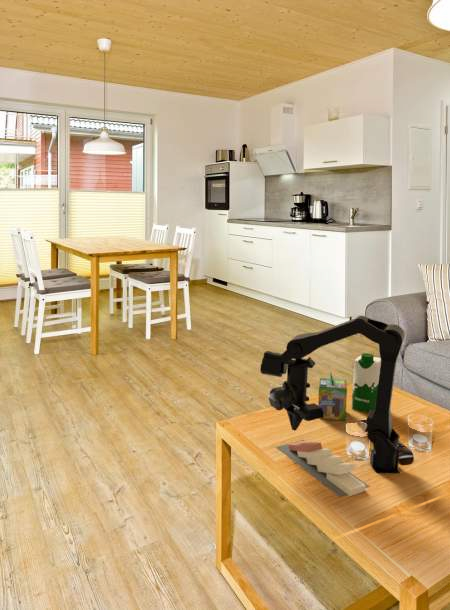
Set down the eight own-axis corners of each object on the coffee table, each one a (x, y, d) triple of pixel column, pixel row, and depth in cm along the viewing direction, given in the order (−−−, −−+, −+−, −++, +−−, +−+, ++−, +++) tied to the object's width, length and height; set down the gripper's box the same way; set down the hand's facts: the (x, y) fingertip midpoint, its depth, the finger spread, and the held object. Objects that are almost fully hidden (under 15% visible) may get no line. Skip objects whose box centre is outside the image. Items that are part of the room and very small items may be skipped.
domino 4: (316, 465, 135) (338, 468, 127) (331, 460, 138) (353, 463, 130) (317, 471, 135) (339, 474, 127) (332, 466, 137) (354, 469, 130)
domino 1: (288, 444, 147) (306, 446, 139) (302, 440, 149) (321, 442, 141) (289, 450, 146) (307, 452, 138) (303, 446, 149) (322, 448, 141)
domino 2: (297, 451, 143) (316, 453, 135) (311, 447, 145) (330, 449, 137) (298, 456, 143) (317, 459, 135) (312, 452, 145) (332, 455, 137)
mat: (275, 448, 148) (275, 447, 148) (303, 441, 153) (303, 439, 153) (339, 498, 124) (339, 496, 124) (370, 487, 129) (370, 486, 129)
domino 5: (326, 472, 132) (350, 490, 124) (341, 468, 134) (365, 485, 126) (326, 478, 132) (349, 496, 124) (341, 473, 134) (365, 490, 127)
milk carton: (348, 409, 176) (352, 354, 172) (357, 400, 183) (360, 348, 179) (373, 415, 171) (378, 359, 167) (381, 406, 179) (385, 352, 174)
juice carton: (345, 421, 166) (348, 379, 163) (317, 419, 168) (319, 377, 165) (344, 410, 175) (347, 369, 172) (317, 408, 177) (320, 367, 174)
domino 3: (306, 458, 139) (326, 460, 131) (320, 454, 142) (341, 456, 134) (307, 464, 139) (327, 466, 131) (322, 459, 141) (342, 462, 133)
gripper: (255, 373, 148) (253, 422, 151) (293, 395, 132) (290, 450, 136) (286, 367, 153) (284, 415, 157) (326, 388, 137) (323, 441, 141)
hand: (294, 429), depth 147 cm, fingers closed
